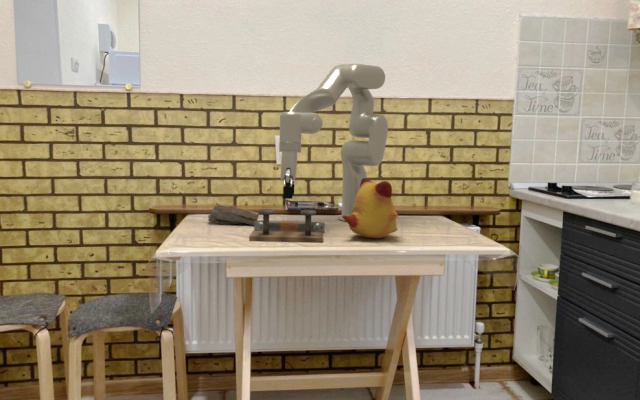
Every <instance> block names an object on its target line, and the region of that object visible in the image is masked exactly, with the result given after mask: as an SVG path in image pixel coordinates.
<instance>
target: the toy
mask: <svg viewBox="0 0 640 400" xmlns="http://www.w3.org/2000/svg"><path fill="white" fill-rule="evenodd" d="M392 195H393V187H392V185H391V183H390V182H389V181H386V180H383V181H380V182H378V183H375V182H373V181H372V180H371V179H369V178H368V177H367V178H363V179H362V180H361V183H360V187H359V191H358V193H357V196H356V198H355V202H354V206H353V210H352V213H351V216H345V215H343V216H342V217H343V218H344V220H345V221H344V222H346V223H347V224H348V227H349V229H350V231H352V232H353V233H354V234H356V235H359V236H362V237H365V238H368V239H381V238H385V237H387V236H389V235H390V234H392V233H395V232H397V231H398V230H399V229H398V227H397V218H398V216H399V215H398V213H397V211H396V210H395V206H394V203H393V200H392Z"/></svg>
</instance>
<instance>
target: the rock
mask: <svg viewBox="0 0 640 400" xmlns="http://www.w3.org/2000/svg"><path fill="white" fill-rule="evenodd" d="M259 216H260V214H259V212H256V211H252V210H248V209H243V208H239V207H234V206H230V205H222V204H218V205H215V206H214V207H213V209H211V211H210V214H208V215H207V217H208V220H207V221H209V222H210V223H214V224H219V225H238V224H239V225H240V224H246V225H250V226H254V221H258V219H259Z"/></svg>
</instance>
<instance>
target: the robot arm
mask: <svg viewBox="0 0 640 400" xmlns="http://www.w3.org/2000/svg"><path fill="white" fill-rule="evenodd" d="M385 81H386V74H385V71H384V69H382V67H380V66H379V65H370V64H364V63H363V64H362V63H346V64H345V63H344V64H338V65H335V66H334V67H333V68H332V69H331V70H330V71H329V73H328V74H327V75H326V76H325V78H324V79H323V81H322V82H321V83H320V85H319V86H318V87H317V88H316V89H314V90H313V91H311V92H310V93H308V94H307V95H305V96H304V97H302V98H300V99H299V100H297V101H296V103H294V105H293V106H292V107H291V108H290V109H289V111H283V112H281V113H280V115H279V140H278V141H279V142H278V144H279V145H278V147H279V148H278V149H279V150H278V152H280V153H281V159H280V160H281V161H280V162H281V163H280V181H283V187H282V188H283V189H282V190H283V191H282V192H283V193H282V198H283V199H290V200H291V199H293V196H294V195H295V181H296V176H297V171H298V170H297V168H298V167H297V166H298V153H301V152H302V134H305V135H306V134H307V135H311V134H312V135H313V134H316V133H318V132H319V131H320V130H322V128H323V119H322V118H321V116H320V115H319V114H318V113H316V112H319V111H321V110H324V109H327V108H329V107H333V105H335V104H336V103H337V102H338V100H339V99H340V97H341V96H342V95H343V93H344V92H345V91H346V89H349V91H350V94H351V96H352V97H351V98H352V106H351V107H352V108H351V113H350V118H349V125H348V126H349V127H348V132H349V134H350V135H351V136H352V137H355V138H358V139H359V138H362V139H368V140H357V139H356V140H354V139H353V140H348V141H346V142H344V143H343V144H342V146H341V149H340V157H341V164H342V197H341V198H342V199H341V201H342V202H341V214H339V215H337V220H339V221H341V222H342V221H343V222H346V221H345V220H344V218H343V217H342V216H343V215H345V216H351V213H352V210H353V206H354V202H355V198H356V196H357V193H358V191H359V187H360V183H361V180H362V179H363V178H367V179H368V176H367V171H366V169H365V168H364V167H365V166H367V167H376V166H380V164H381V163H382V161H383V159H384V156H385V155H384V154H385V150H386V144H387V138H388V131H389V124H388V120H387V118H386V117H385V116H384V115H383V114H380V113H374V108H375V99H374V96H373V95H372V93H371V91H370V90H377V89H380V88H381V87H382V88H383V85H384V84H385Z"/></svg>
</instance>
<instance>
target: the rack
mask: <svg viewBox="0 0 640 400" xmlns="http://www.w3.org/2000/svg"><path fill="white" fill-rule="evenodd" d="M274 211H275V210H274V209H272V208H264V209H263V208H262V209H258V213H259V215H262V220H263V231H254V230H252V232H251V233H250V234H249V238H248V239H249V242H278V241H279V242H280V241H281V243H283V242H286V243H290V242H291V243H322V242H324V233H320V232H311V222H312V216H315V215H317V211H316V210H314V209H304V210H300V215H301V216H305V217H304V222H305V232H276V231H269V221H270V215H273V214H275V213H274Z"/></svg>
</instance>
